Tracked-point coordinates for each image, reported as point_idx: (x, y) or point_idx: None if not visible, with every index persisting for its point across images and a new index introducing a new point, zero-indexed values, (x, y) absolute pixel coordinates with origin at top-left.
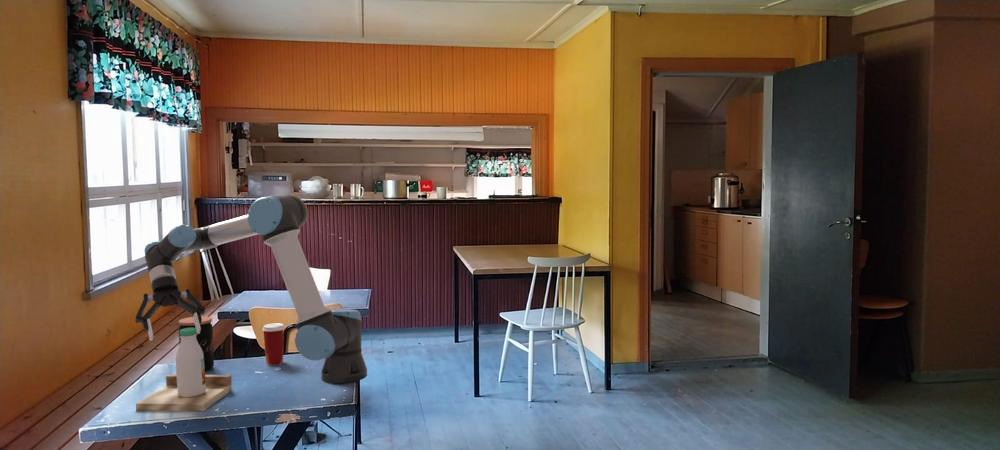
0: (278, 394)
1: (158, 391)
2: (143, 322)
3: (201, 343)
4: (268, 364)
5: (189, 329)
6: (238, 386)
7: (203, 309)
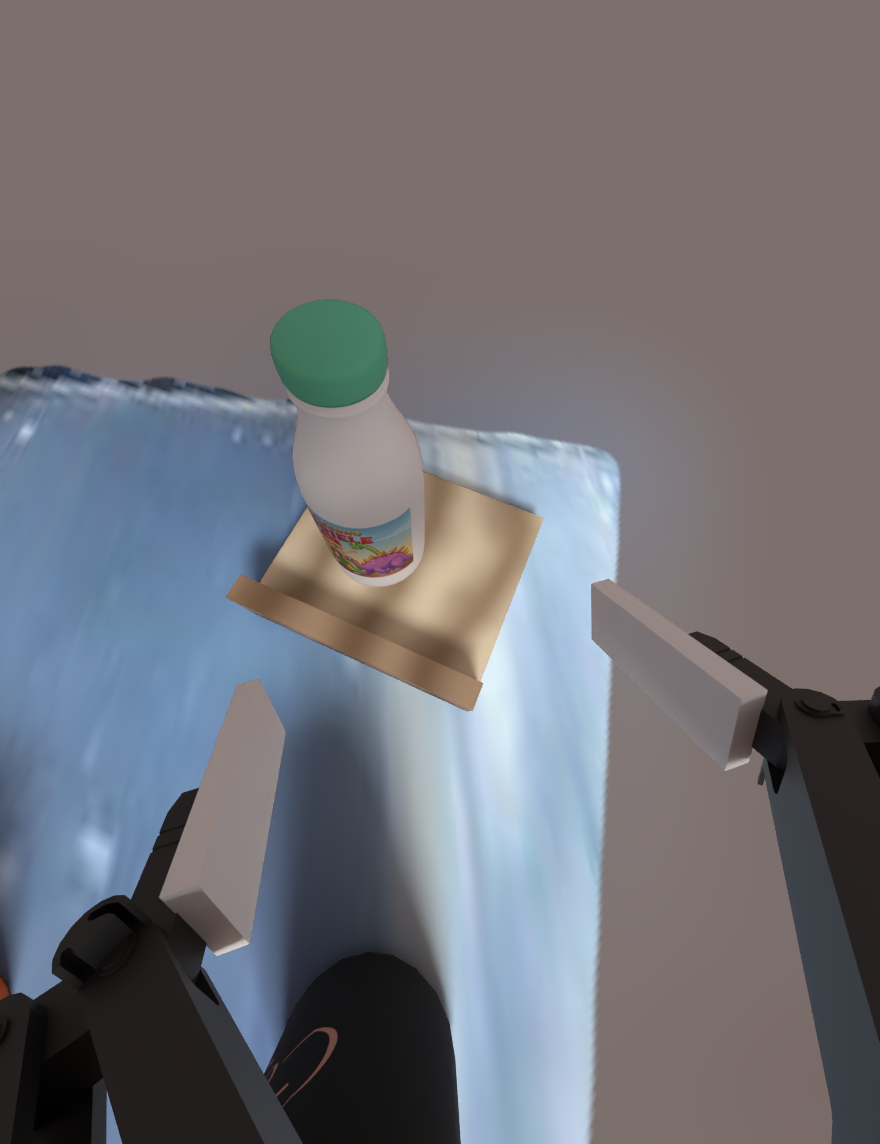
0: (125, 515)
1: (495, 618)
2: (770, 676)
3: (292, 1090)
4: (6, 989)
5: (316, 321)
6: (224, 653)
7: (6, 1009)
